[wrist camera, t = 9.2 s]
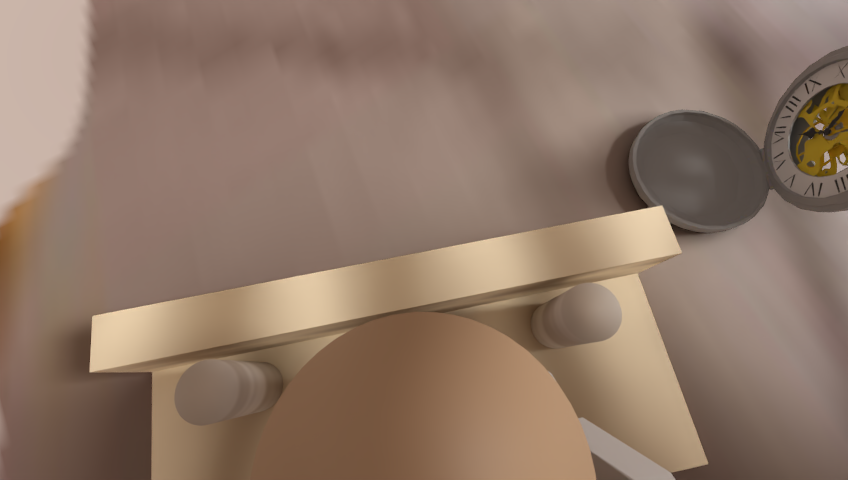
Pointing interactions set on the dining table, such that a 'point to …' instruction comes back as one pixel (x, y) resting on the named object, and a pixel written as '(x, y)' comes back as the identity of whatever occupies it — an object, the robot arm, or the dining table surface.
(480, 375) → the flanged spool
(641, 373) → the peg rack
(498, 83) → the dining table surface
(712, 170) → the pocket watch
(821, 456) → the dining table surface
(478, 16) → the dining table surface
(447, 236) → the dining table surface
